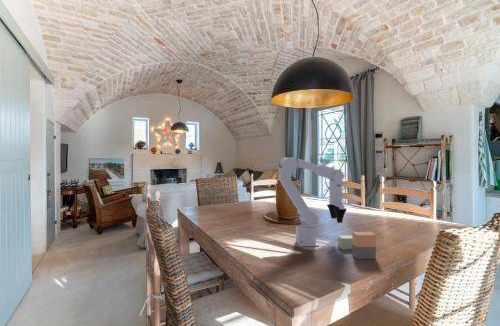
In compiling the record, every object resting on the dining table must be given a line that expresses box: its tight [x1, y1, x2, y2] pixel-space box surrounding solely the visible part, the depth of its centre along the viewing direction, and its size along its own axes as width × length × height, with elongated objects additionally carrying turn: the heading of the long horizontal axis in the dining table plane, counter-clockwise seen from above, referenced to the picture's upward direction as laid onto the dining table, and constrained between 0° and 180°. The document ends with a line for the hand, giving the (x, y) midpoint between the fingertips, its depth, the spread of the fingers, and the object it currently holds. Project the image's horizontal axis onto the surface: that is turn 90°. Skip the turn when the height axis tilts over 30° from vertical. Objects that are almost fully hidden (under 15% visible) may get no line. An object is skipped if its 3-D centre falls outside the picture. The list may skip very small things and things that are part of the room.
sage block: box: [337, 235, 352, 250], centre depth 115 cm, size 8×4×5 cm, turn 91°
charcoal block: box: [351, 244, 377, 260], centre depth 104 cm, size 8×4×5 cm, turn 92°
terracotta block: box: [351, 231, 377, 248], centre depth 104 cm, size 8×4×5 cm, turn 92°
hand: (336, 220), depth 122 cm, fingers open, 7 cm apart
